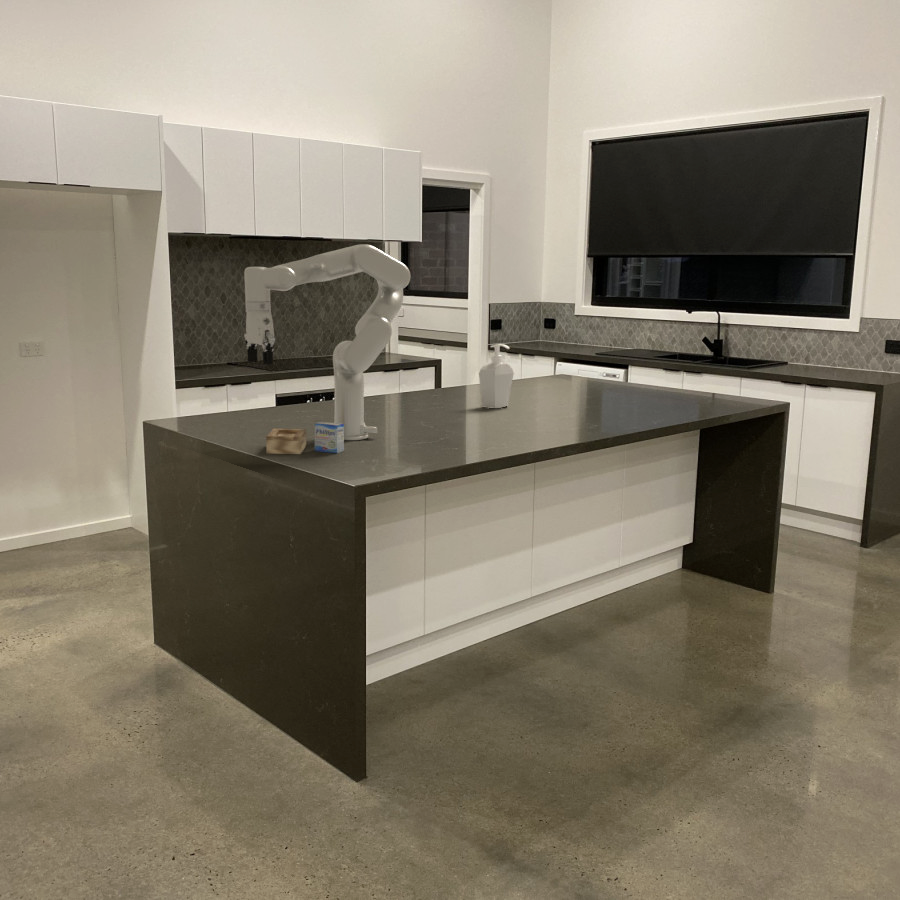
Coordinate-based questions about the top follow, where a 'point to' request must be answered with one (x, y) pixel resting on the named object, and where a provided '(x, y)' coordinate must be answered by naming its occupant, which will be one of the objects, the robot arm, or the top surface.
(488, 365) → the soap bottle
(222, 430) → the top surface
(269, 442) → the block
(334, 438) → the medicine box
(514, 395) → the top surface
